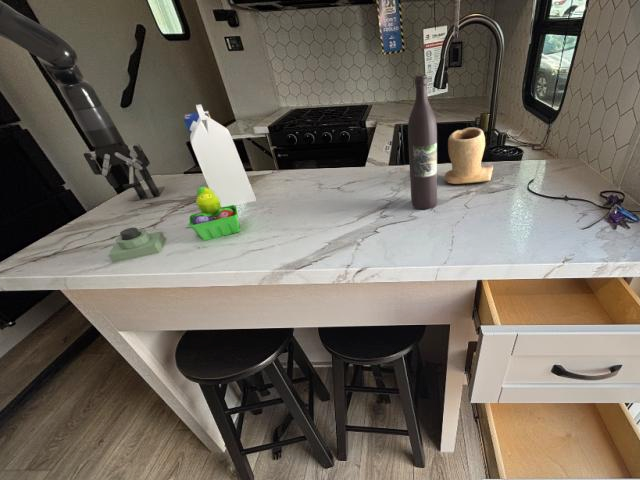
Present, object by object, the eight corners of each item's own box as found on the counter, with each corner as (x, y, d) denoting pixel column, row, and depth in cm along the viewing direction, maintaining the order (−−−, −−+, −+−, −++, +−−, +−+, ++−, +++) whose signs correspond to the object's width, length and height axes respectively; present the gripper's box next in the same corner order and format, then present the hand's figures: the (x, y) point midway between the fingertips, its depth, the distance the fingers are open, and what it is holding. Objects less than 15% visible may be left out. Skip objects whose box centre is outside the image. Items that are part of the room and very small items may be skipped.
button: (122, 242, 80) (117, 235, 79) (126, 235, 83) (122, 229, 82) (138, 238, 81) (134, 232, 80) (142, 232, 83) (138, 226, 82)
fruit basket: (198, 244, 84) (175, 201, 77) (198, 230, 90) (177, 189, 83) (245, 232, 87) (228, 190, 80) (242, 220, 94) (226, 179, 87)
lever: (142, 188, 104) (138, 182, 102) (126, 191, 103) (121, 185, 101) (142, 162, 109) (137, 156, 107) (126, 164, 108) (121, 158, 106)
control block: (113, 262, 80) (102, 248, 77) (122, 247, 86) (113, 233, 83) (159, 253, 82) (150, 238, 80) (165, 238, 88) (157, 224, 86)
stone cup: (445, 190, 100) (446, 135, 91) (443, 176, 110) (444, 125, 100) (497, 187, 99) (503, 132, 90) (491, 173, 108) (496, 122, 99)
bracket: (160, 199, 111) (139, 159, 103) (133, 204, 109) (109, 164, 101) (166, 189, 119) (146, 151, 110) (141, 194, 117) (119, 155, 109)
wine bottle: (412, 210, 91) (405, 78, 72) (410, 200, 96) (404, 75, 77) (438, 208, 91) (438, 76, 72) (435, 198, 96) (435, 72, 77)
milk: (256, 200, 104) (223, 105, 88) (217, 210, 101) (174, 112, 84) (251, 189, 113) (219, 100, 96) (215, 197, 109) (175, 106, 93)
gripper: (130, 119, 97) (160, 176, 107) (73, 127, 94) (109, 184, 104) (123, 124, 91) (155, 183, 101) (62, 133, 88) (102, 193, 98)
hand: (132, 184), depth 103 cm, fingers open, 8 cm apart
